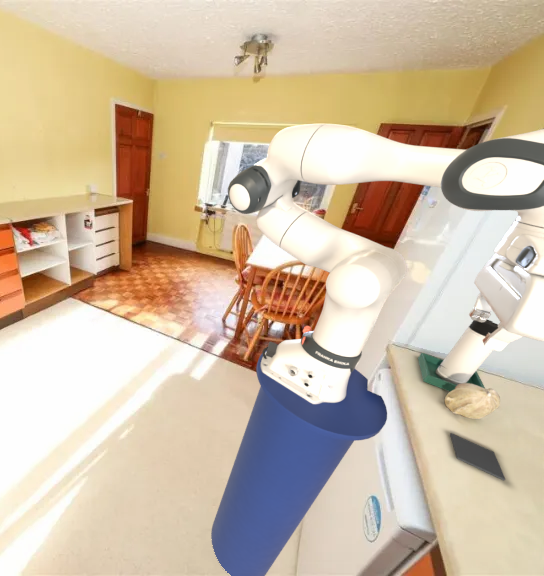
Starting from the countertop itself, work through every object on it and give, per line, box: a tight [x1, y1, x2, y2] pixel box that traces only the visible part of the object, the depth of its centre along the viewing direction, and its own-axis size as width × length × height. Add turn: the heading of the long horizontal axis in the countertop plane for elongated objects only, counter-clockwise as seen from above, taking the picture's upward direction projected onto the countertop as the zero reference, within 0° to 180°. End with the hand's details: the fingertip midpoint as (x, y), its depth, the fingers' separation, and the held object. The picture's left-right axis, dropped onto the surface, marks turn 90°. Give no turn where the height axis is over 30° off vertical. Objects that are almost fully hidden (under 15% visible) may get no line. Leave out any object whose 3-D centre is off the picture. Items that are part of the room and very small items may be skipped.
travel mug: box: [436, 319, 499, 385], centre depth 74 cm, size 6×7×20 cm
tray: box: [417, 352, 486, 392], centre depth 78 cm, size 13×13×2 cm
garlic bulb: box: [444, 383, 501, 420], centre depth 66 cm, size 9×8×10 cm
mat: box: [449, 432, 506, 481], centre depth 58 cm, size 7×7×1 cm
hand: (482, 332), depth 42 cm, fingers open, 8 cm apart
